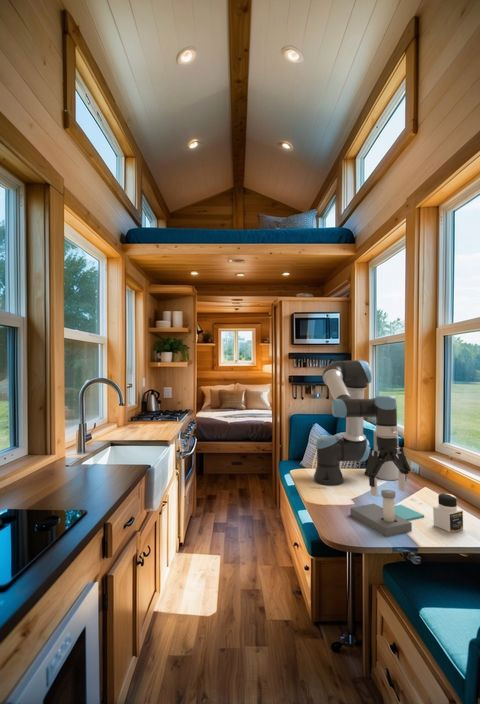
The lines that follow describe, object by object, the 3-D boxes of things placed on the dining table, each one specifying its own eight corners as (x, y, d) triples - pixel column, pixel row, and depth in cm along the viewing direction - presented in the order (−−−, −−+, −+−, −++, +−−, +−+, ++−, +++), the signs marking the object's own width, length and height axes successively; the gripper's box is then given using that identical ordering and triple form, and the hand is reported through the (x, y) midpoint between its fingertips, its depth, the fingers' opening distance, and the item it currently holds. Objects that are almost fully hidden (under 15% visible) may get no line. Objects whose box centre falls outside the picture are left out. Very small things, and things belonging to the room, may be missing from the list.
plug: (379, 526, 137) (378, 490, 138) (389, 524, 139) (388, 489, 139) (388, 532, 132) (387, 495, 133) (399, 529, 134) (398, 493, 135)
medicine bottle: (450, 533, 131) (449, 500, 131) (433, 525, 137) (432, 493, 138) (463, 529, 134) (462, 496, 134) (446, 521, 140) (445, 490, 141)
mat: (379, 510, 152) (379, 508, 152) (401, 506, 156) (401, 504, 156) (401, 522, 140) (401, 520, 140) (424, 517, 145) (424, 515, 145)
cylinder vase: (403, 480, 190) (402, 433, 191) (379, 480, 190) (378, 433, 191) (393, 473, 202) (392, 429, 203) (371, 473, 202) (370, 429, 203)
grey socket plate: (350, 515, 147) (350, 507, 148) (373, 510, 152) (373, 503, 152) (386, 536, 129) (386, 528, 129) (411, 530, 133) (411, 522, 133)
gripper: (367, 440, 129) (368, 500, 128) (419, 435, 138) (421, 491, 137) (353, 437, 136) (355, 493, 135) (404, 432, 145) (405, 485, 144)
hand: (388, 492), depth 136 cm, fingers open, 13 cm apart
